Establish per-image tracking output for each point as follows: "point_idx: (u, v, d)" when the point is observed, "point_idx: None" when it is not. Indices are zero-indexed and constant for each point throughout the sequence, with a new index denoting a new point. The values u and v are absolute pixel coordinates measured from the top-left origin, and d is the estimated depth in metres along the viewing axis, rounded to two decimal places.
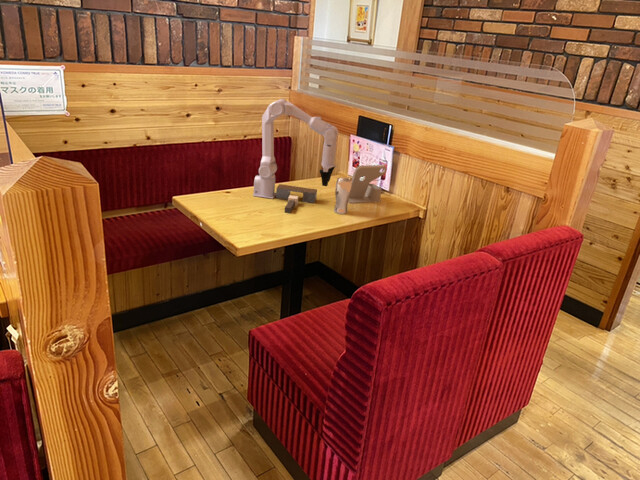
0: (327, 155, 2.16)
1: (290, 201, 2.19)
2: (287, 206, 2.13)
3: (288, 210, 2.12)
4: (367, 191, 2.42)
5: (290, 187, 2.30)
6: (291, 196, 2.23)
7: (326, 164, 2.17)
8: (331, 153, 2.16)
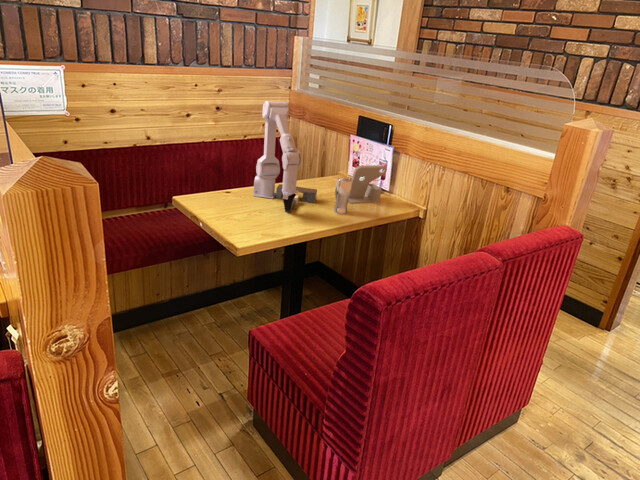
0: (287, 181, 2.04)
1: None
2: None
3: None
4: (367, 191, 2.42)
5: None
6: None
7: (286, 190, 2.06)
8: (286, 178, 2.04)
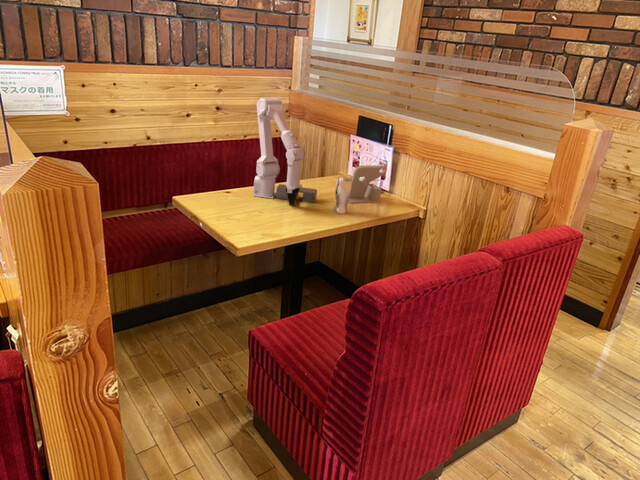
0: (291, 176, 2.12)
1: None
2: None
3: None
4: (367, 191, 2.42)
5: None
6: None
7: (291, 185, 2.14)
8: (292, 173, 2.12)
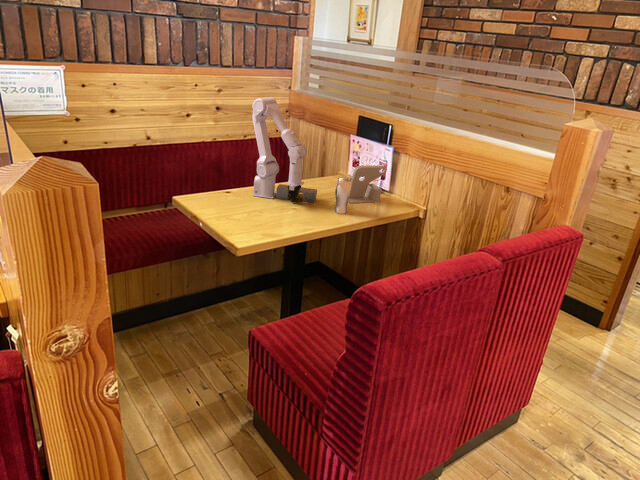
0: (293, 173, 2.16)
1: None
2: None
3: None
4: (367, 191, 2.42)
5: None
6: None
7: (293, 182, 2.18)
8: (295, 171, 2.16)
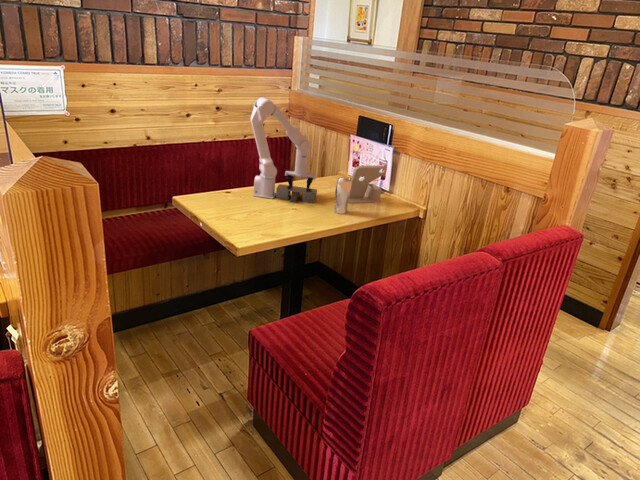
0: None
1: (294, 192, 2.32)
2: (293, 196, 2.26)
3: (294, 200, 2.25)
4: (367, 191, 2.41)
5: (290, 187, 2.30)
6: None
7: None
8: (306, 163, 2.29)
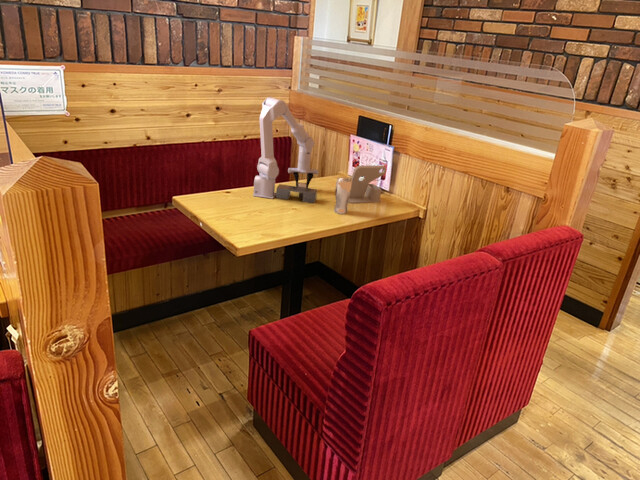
0: (298, 160, 2.38)
1: None
2: None
3: (302, 196, 2.31)
4: (367, 191, 2.41)
5: (290, 187, 2.30)
6: (300, 183, 2.42)
7: (297, 168, 2.39)
8: (309, 159, 2.37)
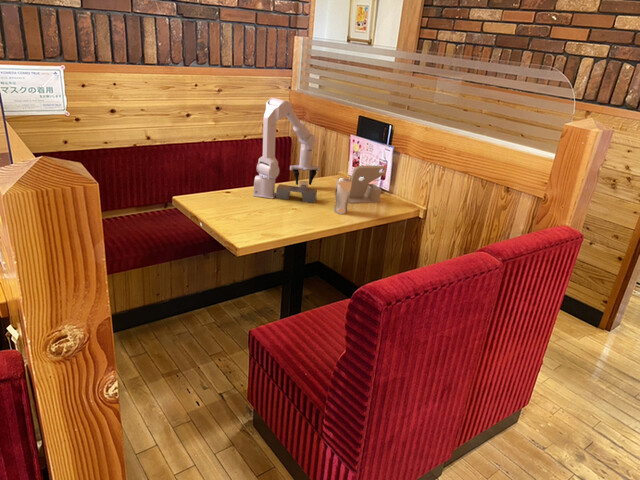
0: None
1: (303, 186, 2.42)
2: None
3: None
4: (367, 191, 2.41)
5: (290, 187, 2.30)
6: (301, 181, 2.45)
7: (299, 165, 2.42)
8: (311, 156, 2.40)
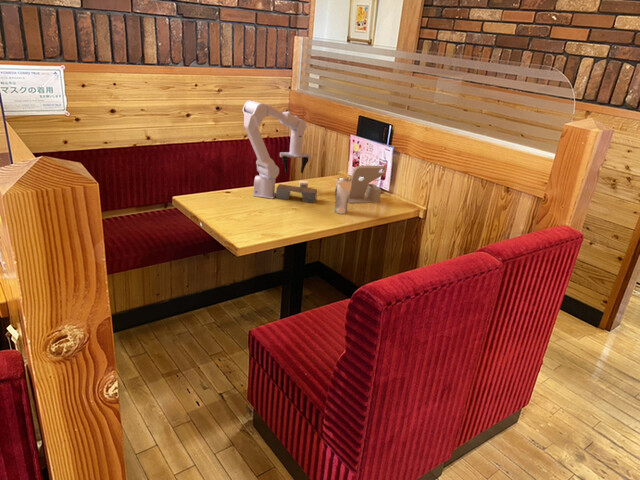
0: (290, 144, 2.32)
1: (303, 186, 2.42)
2: None
3: None
4: (367, 191, 2.41)
5: (290, 187, 2.30)
6: (301, 181, 2.45)
7: (289, 152, 2.34)
8: None
